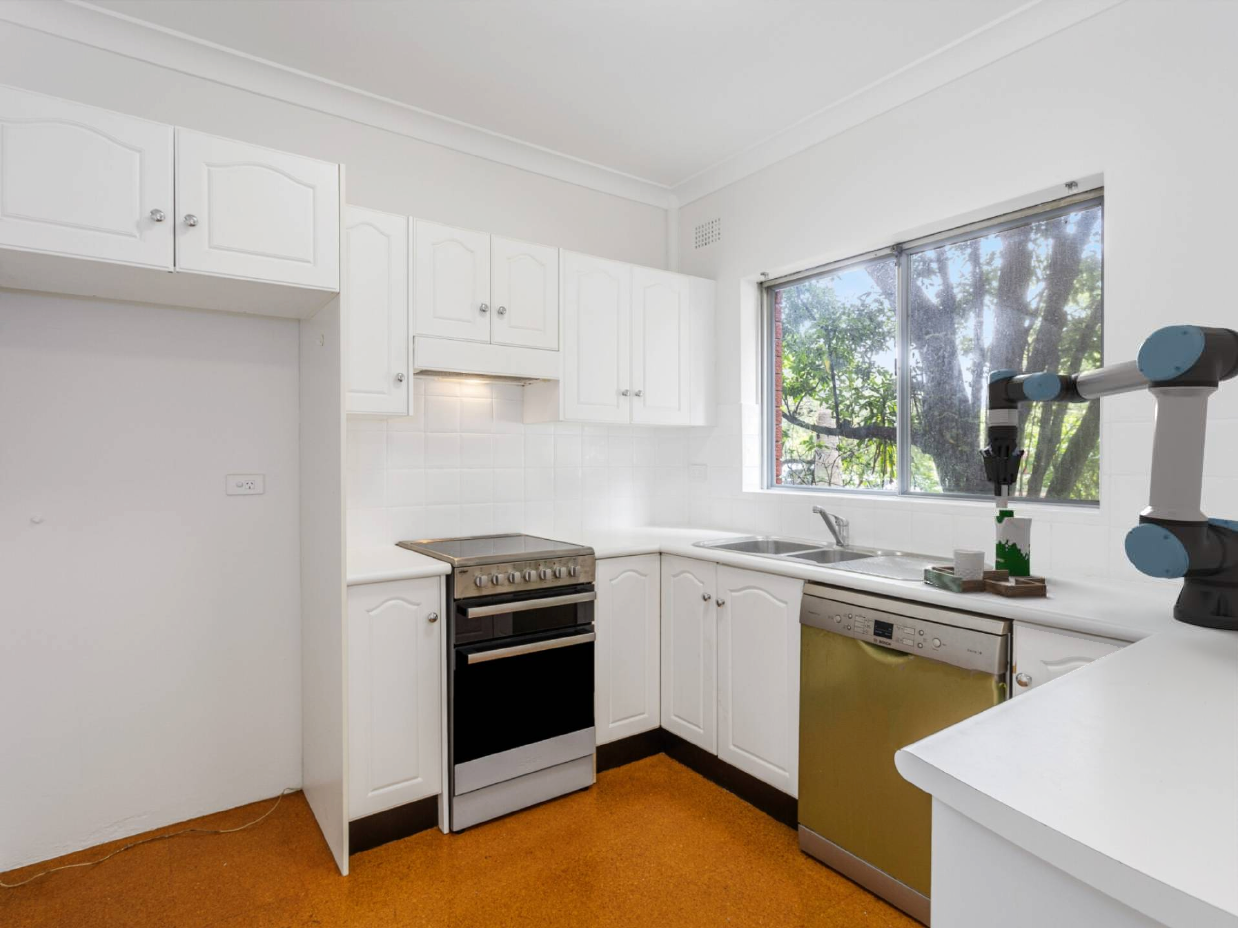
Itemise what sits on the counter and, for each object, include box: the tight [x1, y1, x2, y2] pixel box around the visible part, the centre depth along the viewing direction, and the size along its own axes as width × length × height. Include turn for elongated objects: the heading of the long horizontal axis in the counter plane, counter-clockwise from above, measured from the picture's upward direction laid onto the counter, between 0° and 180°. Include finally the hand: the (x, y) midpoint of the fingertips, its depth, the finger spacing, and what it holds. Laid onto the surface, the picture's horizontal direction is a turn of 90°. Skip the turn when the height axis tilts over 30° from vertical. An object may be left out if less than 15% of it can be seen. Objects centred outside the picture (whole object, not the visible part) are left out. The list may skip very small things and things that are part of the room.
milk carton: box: [993, 509, 1033, 577], centre depth 211 cm, size 9×9×20 cm
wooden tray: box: [923, 565, 1047, 599], centre depth 191 cm, size 31×27×4 cm
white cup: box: [952, 548, 985, 580], centre depth 190 cm, size 8×8×10 cm
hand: (1001, 507), depth 191 cm, fingers closed
